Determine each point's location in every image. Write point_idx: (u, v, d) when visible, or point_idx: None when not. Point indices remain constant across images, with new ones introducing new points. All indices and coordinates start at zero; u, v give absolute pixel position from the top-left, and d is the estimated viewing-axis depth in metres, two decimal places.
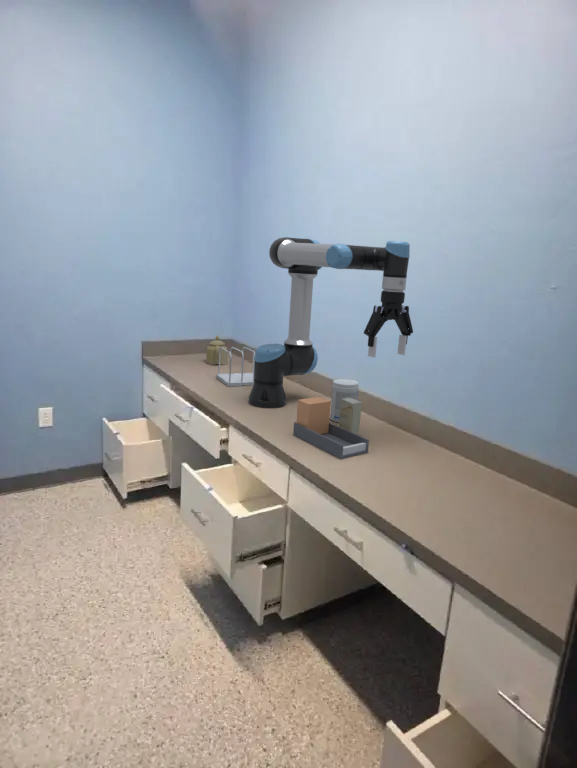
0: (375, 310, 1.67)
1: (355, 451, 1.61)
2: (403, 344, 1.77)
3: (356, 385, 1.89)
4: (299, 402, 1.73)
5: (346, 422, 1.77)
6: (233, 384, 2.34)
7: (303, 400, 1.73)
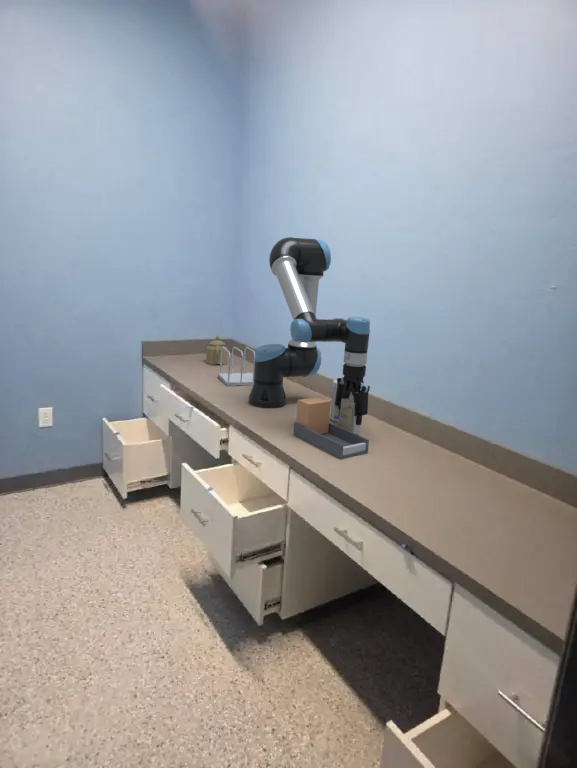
0: None
1: (355, 451, 1.61)
2: None
3: None
4: (299, 402, 1.73)
5: (346, 422, 1.77)
6: (232, 383, 2.35)
7: (303, 400, 1.73)
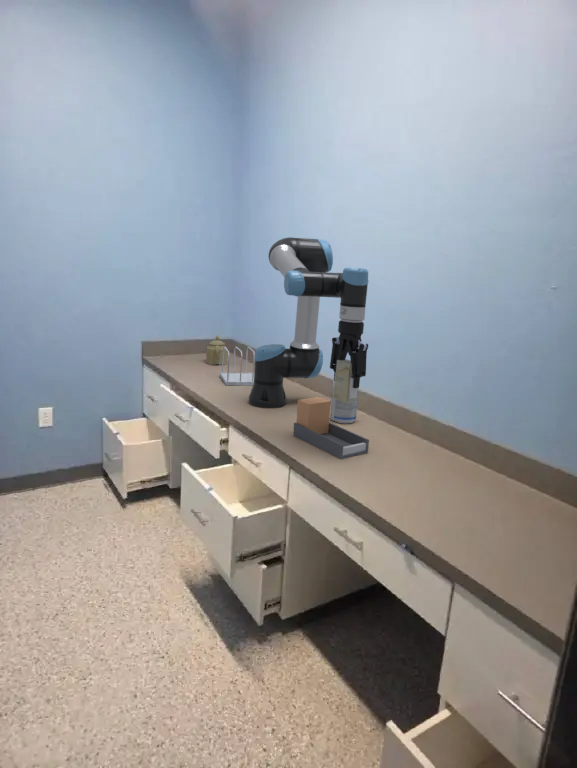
0: None
1: (355, 451, 1.61)
2: None
3: None
4: (299, 402, 1.73)
5: (342, 386, 1.60)
6: (231, 383, 2.35)
7: (303, 400, 1.73)
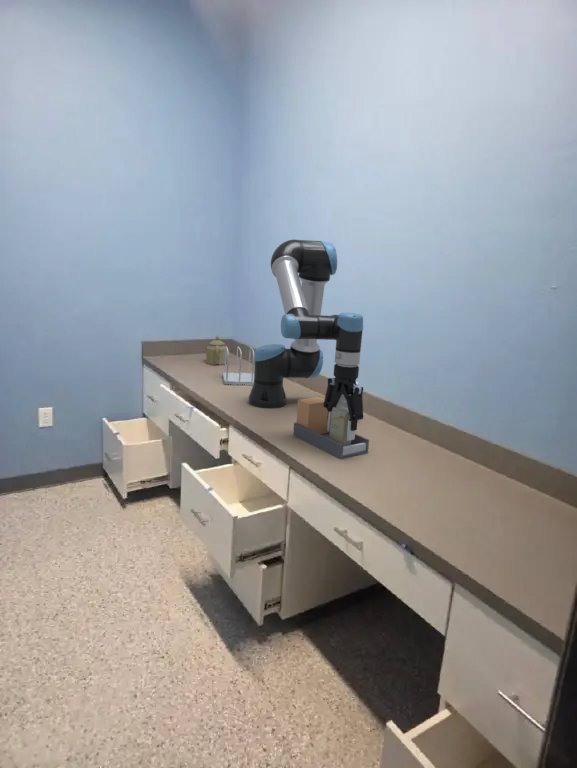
0: None
1: (355, 451, 1.61)
2: None
3: None
4: (299, 402, 1.73)
5: (337, 433, 1.63)
6: (230, 382, 2.36)
7: (303, 400, 1.73)
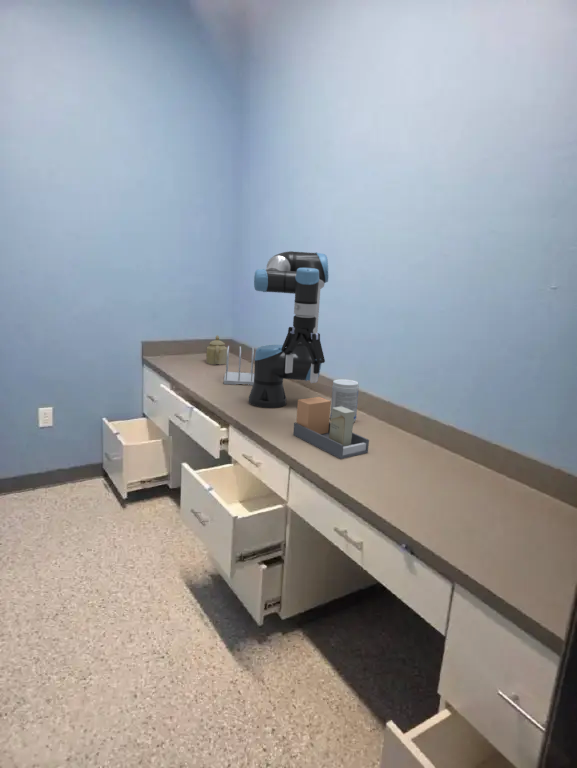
0: None
1: (355, 451, 1.61)
2: None
3: (356, 385, 1.89)
4: (299, 402, 1.73)
5: (337, 434, 1.63)
6: (229, 382, 2.37)
7: (303, 400, 1.73)
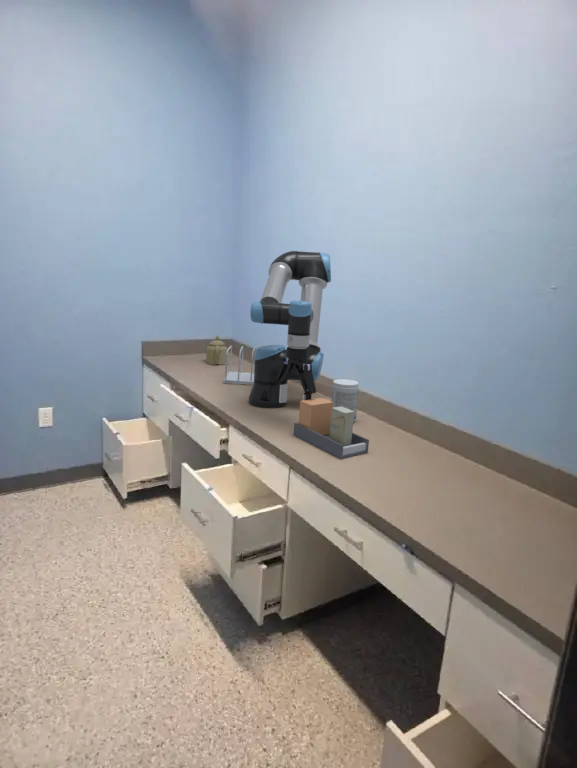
0: None
1: (355, 451, 1.61)
2: None
3: (356, 385, 1.89)
4: (301, 403, 1.72)
5: (337, 433, 1.63)
6: (228, 381, 2.38)
7: (305, 401, 1.72)
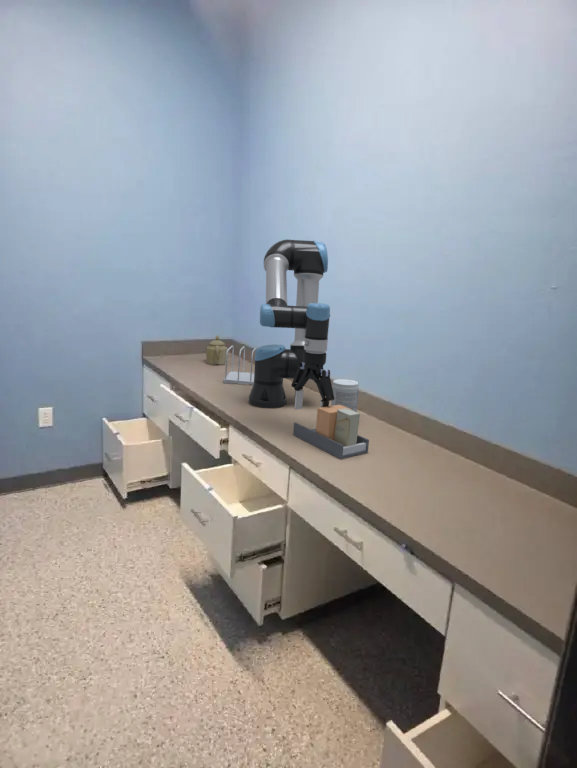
0: None
1: (355, 451, 1.61)
2: None
3: (356, 385, 1.89)
4: (319, 410, 1.65)
5: (342, 436, 1.61)
6: (228, 381, 2.39)
7: (323, 408, 1.65)
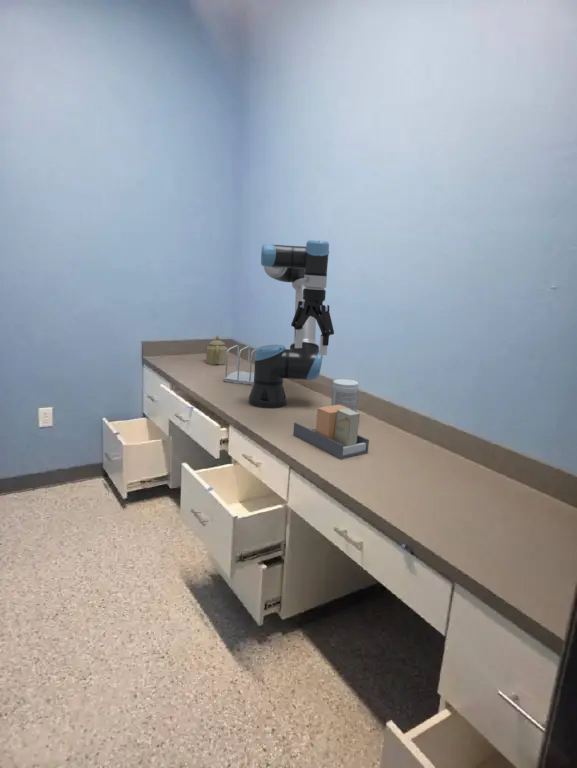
0: None
1: (355, 451, 1.61)
2: None
3: (356, 385, 1.89)
4: (319, 410, 1.65)
5: (342, 436, 1.61)
6: (228, 380, 2.41)
7: (323, 408, 1.65)
